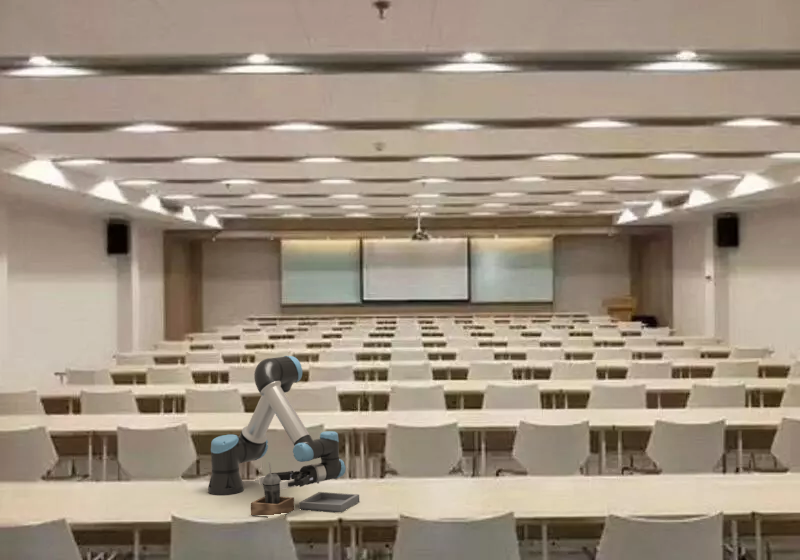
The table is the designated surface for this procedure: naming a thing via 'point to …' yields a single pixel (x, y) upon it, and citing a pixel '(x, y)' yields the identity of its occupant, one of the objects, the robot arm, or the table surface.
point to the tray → (329, 502)
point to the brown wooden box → (272, 506)
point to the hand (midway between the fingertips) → (269, 483)
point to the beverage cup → (271, 487)
